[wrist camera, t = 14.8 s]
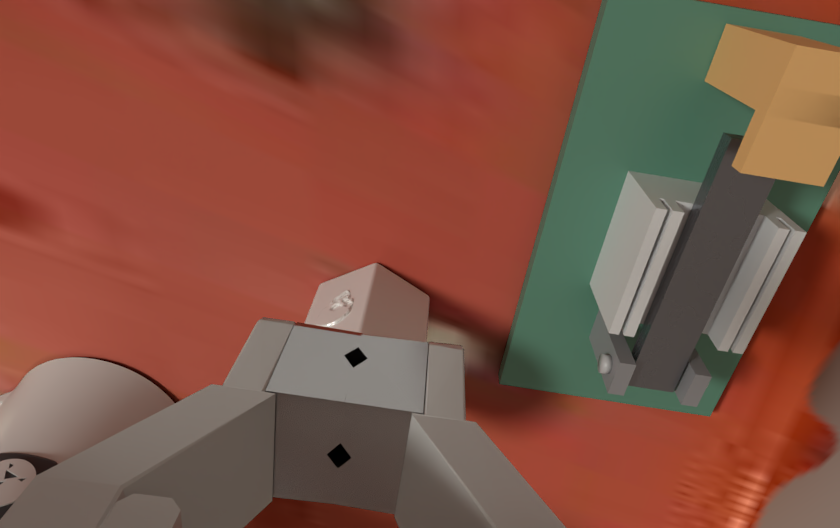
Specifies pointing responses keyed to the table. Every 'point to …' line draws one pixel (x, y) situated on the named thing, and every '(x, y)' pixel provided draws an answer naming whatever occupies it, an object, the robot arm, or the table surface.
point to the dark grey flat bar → (698, 268)
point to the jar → (372, 305)
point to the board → (647, 209)
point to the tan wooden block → (782, 102)
